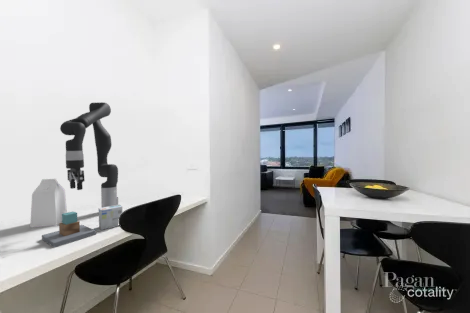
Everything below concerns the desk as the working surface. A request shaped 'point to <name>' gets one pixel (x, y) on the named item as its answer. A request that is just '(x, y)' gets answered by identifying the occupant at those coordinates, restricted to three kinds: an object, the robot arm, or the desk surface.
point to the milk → (48, 204)
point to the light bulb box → (109, 216)
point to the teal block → (69, 218)
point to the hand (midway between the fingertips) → (76, 189)
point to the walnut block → (69, 228)
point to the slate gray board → (58, 239)
